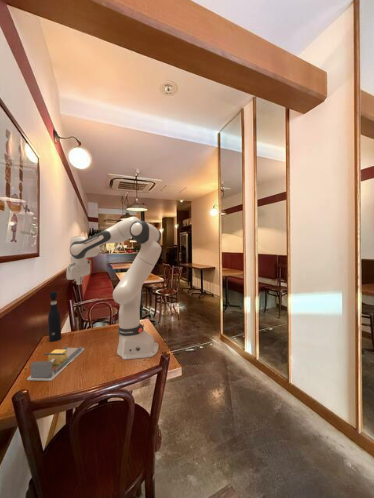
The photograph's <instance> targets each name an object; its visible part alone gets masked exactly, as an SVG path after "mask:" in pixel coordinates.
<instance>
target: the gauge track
mask: <svg viewBox="0 0 374 498" xmlns="http://www.w3.org/2000/svg"><path fill="white" fill-rule="evenodd" d="M60 350H67V359H65V360H64V361H63V362H62V363H61V364H60V365H52V361H48V359H47V360H46V361H45V360H44V361H42V360H41V361H39V360H37V361H36V360H35V361H33V362H31V363H30V365H29V366H30V375H29V376H28V377H27V378H26V380H27V381H43V382H44V381H46V382H47V381H48V382H49V381H53V380H54V379H55V378H57V376H58V375H59V374H60V373H61V372H62V371H63V370H64V369H65V368H67V367H68V366H69V365H70V364H71V363H72V362H73V361H74V360H75V359H76V358H77V357H78V356H79V355H80V354H81V353H83V351H84V350H85V348H84V347H82V346H79V347H67V345H66V346H64V347H62V348H61V349H60ZM70 362H71V363H70ZM69 363H70V364H69ZM68 364H69V365H68ZM67 365H68V366H67Z"/></svg>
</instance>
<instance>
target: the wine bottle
mask: <svg viewBox="0 0 374 498" xmlns="http://www.w3.org/2000/svg"><path fill="white" fill-rule="evenodd" d="M57 297H58V291H57V290H54V291H50V292H49V298H50V304H49V305H50V306H49V308H50V310H49V313H48V315H47V316H48V317H47V323H48V325H47V326H48V339H49V342H50V343H54V342H57V341H60V340H61V339H62V324H61V314H60V310H59V308H58V302H57Z"/></svg>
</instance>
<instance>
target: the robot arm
mask: <svg viewBox="0 0 374 498" xmlns="http://www.w3.org/2000/svg"><path fill="white" fill-rule="evenodd" d="M131 238H132V239H134V240H135V242H136V243H137V244H138V245H140V249H139V252H138V253H137V255H136V256H135V258H134V260H133V262H132V263H131V265H130V267H129V268H128V269H127V271H126V272H125V273H124V275H123V276H122V278H121V279H120V281H118V283H117V285H116V286H115V288H114V290H113V292H112V298H113V299H112V300H113V301H114V302H115V303H117V304H118V305H119V309H118V327H117V329H118V331H117V334H118V345H117V351H116V355H118V356H119V357H121V359H122V360H134V359H135V360H136V359H144V358H152V357H154V356H155V355H157V352H158V351H159V343H158V342H155V339H154V336H153V335H152V334H150V333H149V332H147V331H146V330H144V327H145V324H144V323H143V324H142V323H141V315H140V311H141V310H140V307H141V298H142V287H143V286H144V284H145V282H146V280H147V279H148V278H149V276H150V274H151V273H152V271H153V269H154V268H155V265H156V264H157V262H158V260H159V258H160V256H161V253H162V246H161V245H160V241H161V240H162V232H161V231H160V230H159V228H157V227H155V226H154V225H153V224H151V223H149V222H146V221H144V220H140V218H138V217H137V216H130V217H128V218H124V219H122V220H121V221H118V222H116V223H115V224H113V225H111V226H110V227H108V228H106V229H104V230H102V231H100V232H98V233H95V234H94V235H92V236H90V237H88V238H86V237H85V236H83V235H77V236H73V237H72V238H70V240H69V241H70V242H69V254H70V264H68V266H67V268H66V273H65V274H66V275H65V276H66V277H65V278H66V279H67V280H68V281H70V280H75V282H76V285H78V286H80V285H82V284H83V280H84V277H86V276H89V275H90V274H91V265H90V264H91V262H92V261H91V260H89V259H87V258H93V257H97V256H98V255H99V254H100V252H101V245H106V244H118V243H119V244H120V243H123V242H126V241H128V240H130V239H131Z"/></svg>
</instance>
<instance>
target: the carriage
mask: <svg viewBox="0 0 374 498" xmlns="http://www.w3.org/2000/svg"><path fill="white" fill-rule="evenodd" d="M43 356H47V360H48V361H52V365H60V364H61V363H62V362H63V361H64V360H65V359H67V350H61V349H54V350H52V351H51V352H44V353H43Z"/></svg>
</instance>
